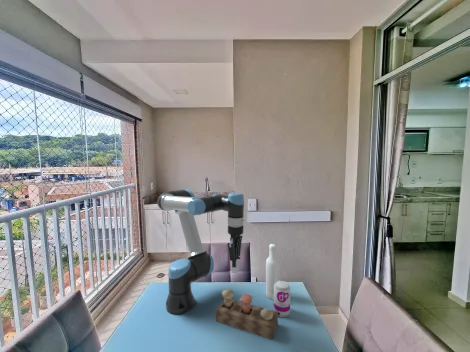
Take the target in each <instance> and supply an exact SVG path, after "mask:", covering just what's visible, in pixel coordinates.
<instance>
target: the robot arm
mask: <svg viewBox="0 0 470 352" xmlns="http://www.w3.org/2000/svg"><path fill="white" fill-rule="evenodd" d="M244 197H245V195H244V194H243V193H242V192H241V193H240V192H229V193H228V195H226V194H221V193H214V194H213V195H211V196H205V197H204V196H203V197H199V196H198V197H195V194H194V192H193V191H191V190H190V189H179V190H170V191H164V192H162V193H160V194H159V196H158V197H157V201H156V204H157V206H158V209H160V210H162V211H166V212H170V211H174V213H175V214H176V215H178V217H179V220H180V225H181V229H182V232H183V236H184V240H185V244H186V247H187V251H188V255H187V258H179V259H177V260H174V261H173V262H172V263H170V264H169V267H168V272H167V276H168V295H167V299H166V301H165V308H166V311H167V312H168V313H170V314H173V315H179V314H181V315H182V314H185V313H187V312H189V311H190V310H191V309H193V308H194V306H195V297H194V295H193V294H194V293H193V292H192V283H194V282H195V281H199V280H200V279H202V278H205V277H208V276H209V275H211V273H212V272H213V271H214V268H215V261H214V258H213V256H212V255H211V253H208V252H207V250H206V249H204V247H203V243H202V240H201V238H200V237H201V236H200V234H199V230H198V226H197V223H196V220H195V216H201V215H204V214H208V213H213V212H217V211H224V212H227V234H229V235H230V237H229V239H230V240H229V242H227V247H228V255H229V256H228V257H229V261H230V262H231V273H233V274H236V275H238V273H239V260H240V259H241V257H240V256H241V251H242V250H241V249H242V241H243V234H244V222H245V219H244V215H245V214H244V208H245V207H244V206H245V198H244Z"/></svg>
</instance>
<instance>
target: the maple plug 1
mask: <svg viewBox="0 0 470 352" xmlns="http://www.w3.org/2000/svg"><path fill="white" fill-rule="evenodd" d="M221 297H222V298H223V300H224V307H225V308H227V309H229V308H231V306H232V305H231V299H233V297H234V291H233V290H232V289H224V290H222V291H221Z"/></svg>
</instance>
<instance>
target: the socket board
mask: <svg viewBox="0 0 470 352" xmlns="http://www.w3.org/2000/svg"><path fill="white" fill-rule="evenodd" d="M231 305H232V306H231V308H229V309H227V308H225V307H224V299H223V300H222V302H221V303H219V305H218V306H217V307H216V309H215V321H216V322H218V323H220V324H221V323H222V324H224V325H226V326H229V327H233V328H236V329H239V330H242V331H245V332H248V333H251V334H254V335H257V336H260V337H263V338H265V339H270V340H273V339H274V336H275V333H276V330H277V327H278V324H279V320H278V319H279V316H278V312H276V311H274V310H271V309H270V310H271V311H272V312H273V318H272V319H271V321H266V320H263V319H262V318H261V311H262V310H263V309H266V308H264V307H261V306H257V305H253V304H250V313H249V314H244V313H243V303H241V301H239V300H235V299H233V298H231Z"/></svg>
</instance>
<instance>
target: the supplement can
mask: <svg viewBox="0 0 470 352" xmlns="http://www.w3.org/2000/svg"><path fill="white" fill-rule="evenodd" d="M273 311H276V312H278V317H280V318H286V317H288V316H290V315H291V287H290V283H289V282H287V281H285V280H279V281H276V282H275V284H274V300H273Z"/></svg>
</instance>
